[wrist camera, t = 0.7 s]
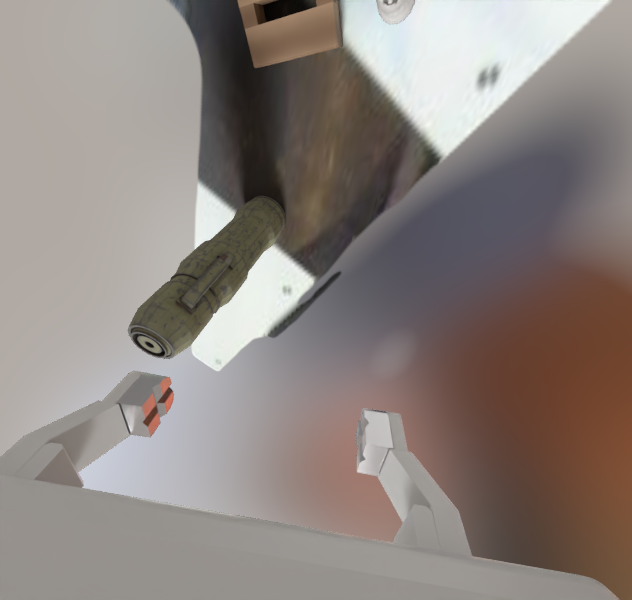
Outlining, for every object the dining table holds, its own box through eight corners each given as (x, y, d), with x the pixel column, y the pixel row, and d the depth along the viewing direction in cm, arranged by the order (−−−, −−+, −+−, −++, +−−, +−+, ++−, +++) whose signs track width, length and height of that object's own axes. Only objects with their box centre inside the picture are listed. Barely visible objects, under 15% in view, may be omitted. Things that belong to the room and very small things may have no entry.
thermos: (237, 222, 61) (109, 344, 36) (260, 179, 53) (118, 299, 28) (270, 247, 63) (171, 379, 38) (298, 210, 55) (195, 347, 30)
